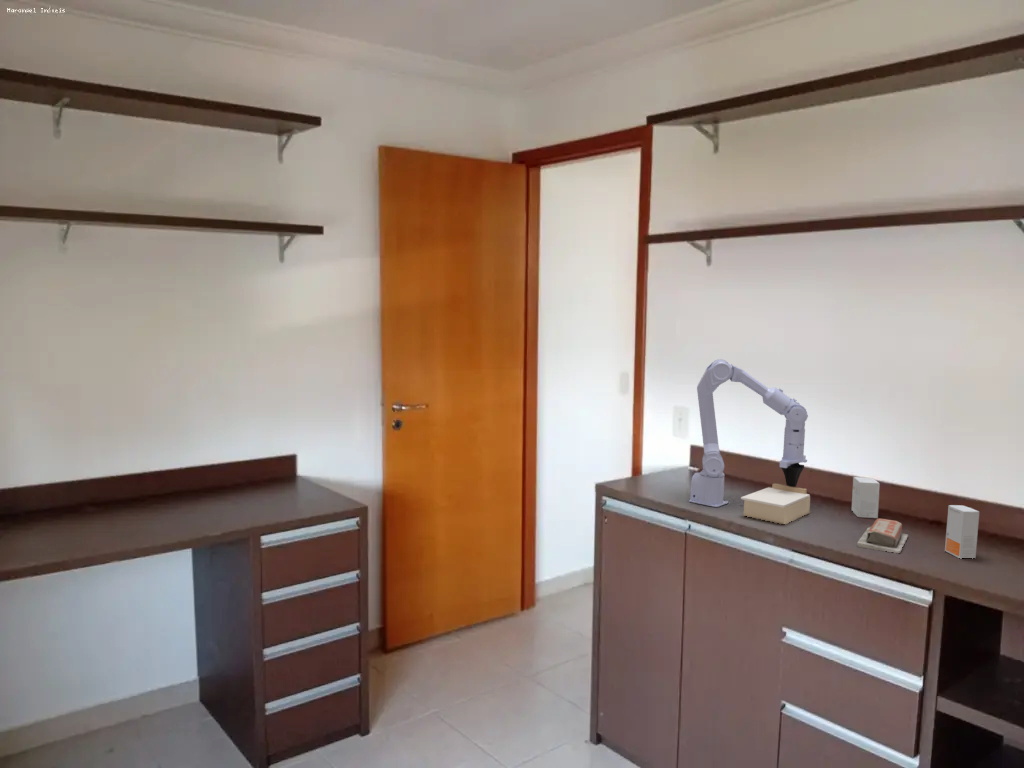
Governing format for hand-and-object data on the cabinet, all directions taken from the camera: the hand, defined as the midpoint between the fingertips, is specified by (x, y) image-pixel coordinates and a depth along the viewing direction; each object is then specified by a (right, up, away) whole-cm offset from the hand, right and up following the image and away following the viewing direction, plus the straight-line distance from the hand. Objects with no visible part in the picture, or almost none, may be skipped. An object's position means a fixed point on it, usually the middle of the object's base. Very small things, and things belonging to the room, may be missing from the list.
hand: (791, 488), depth 230 cm
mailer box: (-7, -7, -6) cm, 11 cm away
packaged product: (+13, -10, -31) cm, 35 cm away
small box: (+20, -8, -4) cm, 22 cm away
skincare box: (+27, -11, -41) cm, 50 cm away
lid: (-7, -2, -8) cm, 11 cm away
